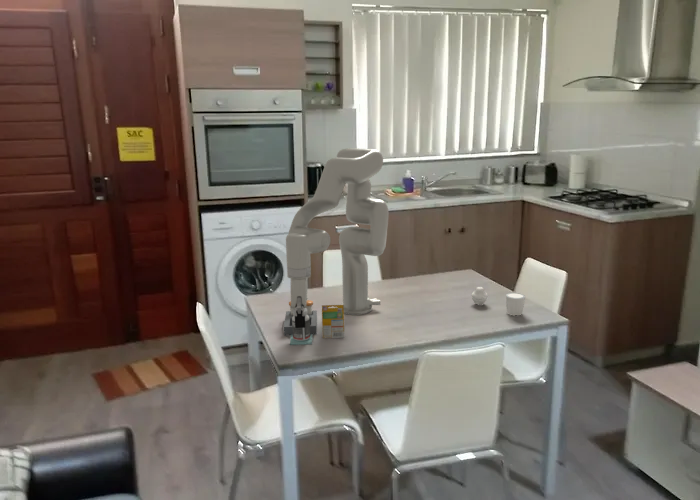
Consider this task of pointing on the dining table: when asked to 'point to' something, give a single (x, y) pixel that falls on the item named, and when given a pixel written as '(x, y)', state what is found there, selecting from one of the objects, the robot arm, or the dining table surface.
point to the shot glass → (515, 303)
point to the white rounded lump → (479, 296)
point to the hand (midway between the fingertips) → (300, 321)
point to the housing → (288, 323)
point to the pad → (295, 342)
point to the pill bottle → (301, 333)
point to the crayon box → (333, 321)
